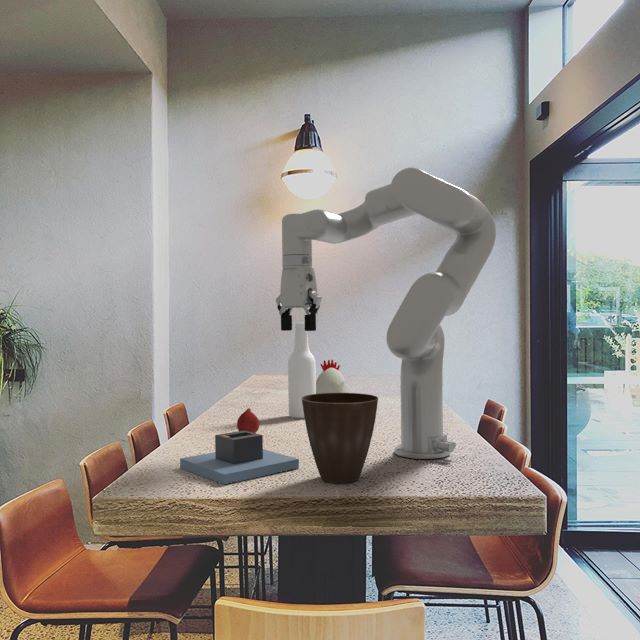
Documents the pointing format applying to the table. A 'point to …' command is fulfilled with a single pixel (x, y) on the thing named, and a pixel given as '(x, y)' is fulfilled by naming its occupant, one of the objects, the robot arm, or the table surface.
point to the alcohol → (300, 372)
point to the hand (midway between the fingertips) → (298, 330)
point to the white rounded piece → (331, 380)
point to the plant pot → (340, 432)
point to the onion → (248, 422)
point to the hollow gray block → (238, 447)
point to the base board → (238, 466)
